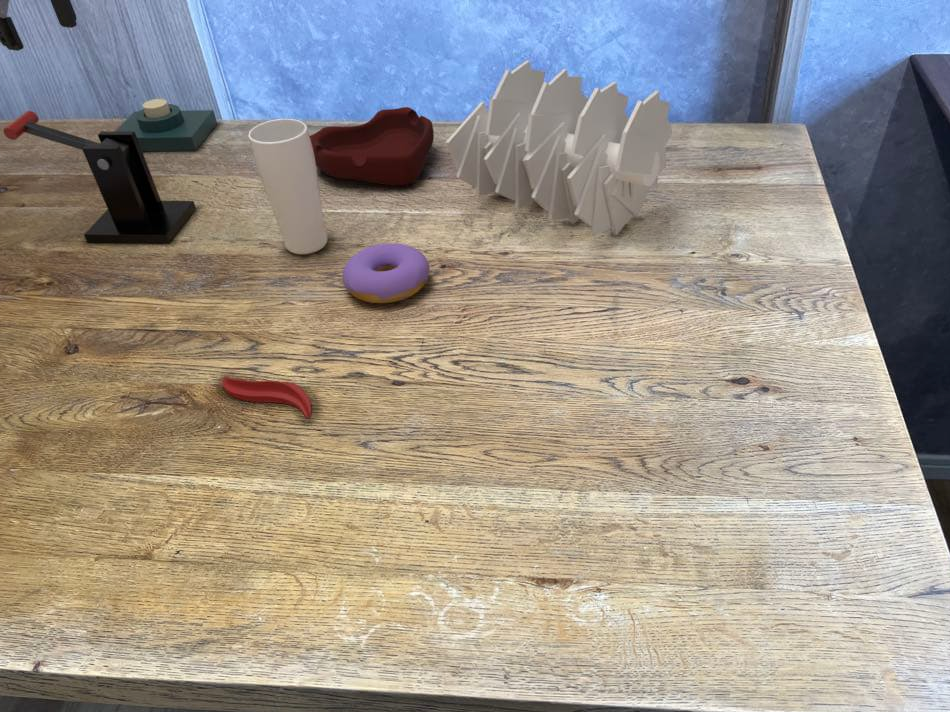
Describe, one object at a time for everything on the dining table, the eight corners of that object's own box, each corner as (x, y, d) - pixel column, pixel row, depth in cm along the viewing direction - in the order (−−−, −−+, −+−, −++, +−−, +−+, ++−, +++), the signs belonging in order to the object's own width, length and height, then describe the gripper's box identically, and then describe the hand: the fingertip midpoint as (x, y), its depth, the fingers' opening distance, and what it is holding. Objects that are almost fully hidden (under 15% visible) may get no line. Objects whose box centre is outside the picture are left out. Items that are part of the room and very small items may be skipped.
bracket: (87, 242, 105) (47, 156, 97) (118, 208, 112) (83, 124, 104) (169, 243, 104) (135, 156, 96) (196, 208, 111) (166, 124, 103)
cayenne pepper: (326, 406, 80) (322, 391, 79) (289, 432, 77) (284, 417, 76) (250, 361, 86) (245, 346, 84) (213, 384, 83) (207, 370, 82)
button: (142, 119, 125) (138, 108, 124) (151, 110, 127) (147, 99, 126) (165, 119, 125) (161, 107, 123) (174, 109, 127) (170, 98, 126)
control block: (113, 151, 125) (102, 126, 122) (139, 124, 132) (130, 100, 130) (196, 150, 124) (187, 125, 122) (217, 123, 132) (209, 98, 129)
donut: (420, 252, 100) (417, 222, 96) (439, 306, 95) (437, 276, 91) (339, 269, 98) (332, 238, 94) (353, 324, 92) (347, 294, 89)
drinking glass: (336, 254, 101) (309, 138, 91) (280, 263, 100) (247, 147, 90) (332, 227, 106) (306, 114, 96) (279, 236, 105) (246, 122, 95)
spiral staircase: (512, 202, 117) (667, 242, 106) (432, 199, 103) (601, 245, 91) (534, 67, 111) (701, 93, 100) (452, 44, 97) (636, 72, 85)
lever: (4, 140, 98) (1, 122, 97) (26, 123, 102) (24, 105, 100) (117, 175, 100) (116, 157, 99) (134, 156, 104) (134, 139, 102)
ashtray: (355, 210, 109) (348, 175, 106) (304, 167, 119) (295, 134, 116) (467, 170, 117) (464, 136, 113) (410, 133, 126) (405, 101, 123)
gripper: (6, -127, 97) (64, 17, 108) (-103, -102, 87) (-27, 54, 98) (53, -125, 95) (108, 22, 106) (-53, -99, 85) (19, 60, 96)
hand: (43, 37), depth 102 cm, fingers open, 8 cm apart
